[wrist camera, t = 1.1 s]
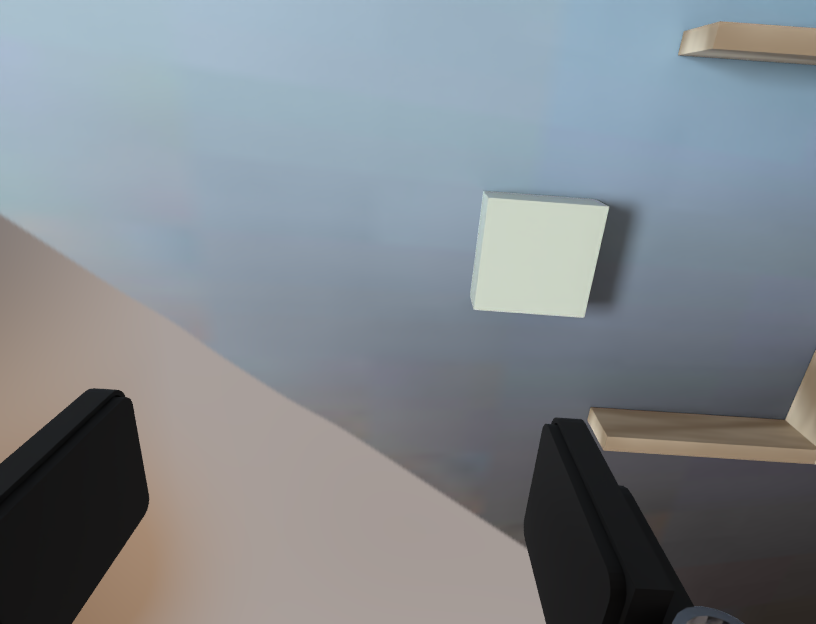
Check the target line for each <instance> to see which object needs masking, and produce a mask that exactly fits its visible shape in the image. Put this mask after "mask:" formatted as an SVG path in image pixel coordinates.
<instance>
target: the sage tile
mask: <svg viewBox="0 0 816 624" xmlns="http://www.w3.org/2000/svg"><path fill="white" fill-rule="evenodd" d="M608 210H609V206H607V205H605V204H603V203H601V202H599V201H598V200H596V199H587V198H573V197H559V196H546V195H532V194H519V193H505V192H491V191H483V198H482V206H481V213H480V221H479V229H478V237H477V245H476V253H475V261H474V269H473V277H472V284H471V292H470V297H471V301H472V305H473V309H474V310H486V311H500V312H513V313H527V314H541V315H554V316H568V317H582V318H584V316H585V312H586V307H587V303H588V298H589V294H590V290H591V285H592V281H593V276H594V272H595V267H596V263H597V259H598V254H599V250H600V245H601V241H602V237H603V232H604V228H605V223H606V219H607V214H608Z"/></svg>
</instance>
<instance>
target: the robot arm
mask: <svg viewBox="0 0 816 624" xmlns="http://www.w3.org/2000/svg"><path fill="white" fill-rule="evenodd" d="M148 504H149V493H148V488H147V482H146V476H145V471H144V465H143V460H142V454H141V449H140V443H139V437H138V432H137V426H136V420H135V415H134V409H133V404H132V401H131V399H129V398H127V397H125V395H124V393H123V392H122V391H120V390H110V389H95V388H94V389H89V390H87V391H85V392H84V393H83V394H82V395H81V396H79V397H78V398H77V399H76V400H75V401H74V402H72V403H71V404H70V405H69V406H68V407H66V408H65V409H64V410H63V411H62V412H61V413H59V414H58V415H57V416H56V417H55V418H54V419H52V420H51V421H50V422H49V423H48V424H46V425H45V426H44V427H43V428H42V429H41V430H39V431H38V432H37V433H36V434H35V435H34V436H32V437H31V438H30V439H29V440H28V441H26V442H25V443H24V444H23V445H22V446H21V447H19V448H18V449H17V450H16V451H15V452H14V453H12V454H11V455H10V456H9V457H8V458H6V459H5V460H4V461H3V462H2V463H1V464H0V624H72V622H73V621H74V620H75V618H76V616H77V615H78V613H79V612H80V611H81V609H82V608H83V606H84V605H85V603H86V602H87V600H88V598H89V597H90V595H91V594H92V593H93V591H94V590H95V588H96V586H97V585H98V584H99V582H100V581H101V579H102V578H103V576H104V575H105V573H106V572H107V570H108V569H109V567H110V566H111V564H112V563H113V561H114V560H115V558H116V557H117V555H118V554H119V553H120V551H121V550H122V548H123V547H124V545H125V544H126V542H127V540H128V539H129V538H130V536H131V535H132V533H133V532H134V530H135V529H136V527H137V526H138V524H139V523H140V521H141V520H142V518H143V517H144V515H145V513H146V511H147V508H148ZM524 536H525V541H526V545H527V549H528V553H529V557H530V561H531V565H532V569H533V573H534V577H535V581H536V585H537V589H538V593H539V597H540V601H541V605H542V608H543V613H544V616H545V621H546V624H744V623H743V622H741V621H739V620H738V619H736V618H735V617H733V616H731V615H728V614H726V613H724V612H721V611H719V610H717V609H712V608H707V607H702V606H698V607H694V605H693V603H692V602H691V600H690V598H689V596H688V594H687V593H686V591H685V589H684V587H683V585H682V584H681V582H680V580H679V578H678V576H677V575H676V573H675V571H674V569H673V567H672V566H671V564H670V562H669V560H668V558H667V557H666V555H665V553H664V551H663V550H662V548H661V546H660V544H659V542H658V541H657V539H656V537H655V535H654V533H653V532H652V530H651V528H650V526H649V524H648V523H647V521H646V519H645V517H644V515H643V514H642V512H641V510H640V508H639V506H638V505H637V503H636V501H635V499H634V497H633V496H632V494H631V493H630V491H629V490H628V489H627V488H626V487H624V486H619V485H618V484H617V482H616V480H615V478H614V476H613V474H612V472H611V471H610V469H609V467H608V465H607V463H606V461H605V459H604V457H603V456H602V454H601V452H600V450H599V448H598V446H597V444H596V442H595V441H594V439H593V437H592V435H591V433H590V431H589V429H588V428H587V426H586V424H585V422H584V421H583V420H581V419H570V418H554V419H553V421H552V423H551V424H545V425H544V426H543V429H542V434H541V439H540V444H539V449H538V454H537V459H536V464H535V469H534V474H533V479H532V484H531V488H530V493H529V498H528V503H527V508H526V513H525V518H524Z"/></svg>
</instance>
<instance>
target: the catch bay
mask: <svg viewBox="0 0 816 624" xmlns="http://www.w3.org/2000/svg"><path fill="white" fill-rule="evenodd" d="M678 55H682V56H696V57H710V58H724V59H738V60H752V61H767V62H781V63H795V64H809V65H816V28H805V27H791V26H777V25H763V24H749V23H735V22H721V21H720V22H716V23H712V24H709V25H705V26H702V27H698V28H694V29H691V30H687V31H684V33H683V37H682V41H681V45H680V49H679V53H678ZM588 422H589V424H590V426H591V428H592V430H593V432H594V433H595V435H596V437H597V439H598V441H599V443H600V445H601V446H602V448H603V450H605V451H620V452H636V453H651V454H667V455H682V456H697V457H713V458H728V459H744V460H759V461H774V462H790V463H805V464H816V350H815V353H814V355H813V357H812V360H811V362H810V364H809V366H808V369H807V371H806V373H805V376H804V378H803V380H802V382H801V385H800V387H799V389H798V392H797V394H796V396H795V399H794V401H793V403H792V405H791V408H790V410H789V412H788V415H787V417H786V419H785V420H778V419H763V418H747V417H732V416H717V415H702V414H686V413H671V412H656V411H641V410H625V409H610V408H595V407H591V408H590V412H589V416H588Z"/></svg>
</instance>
